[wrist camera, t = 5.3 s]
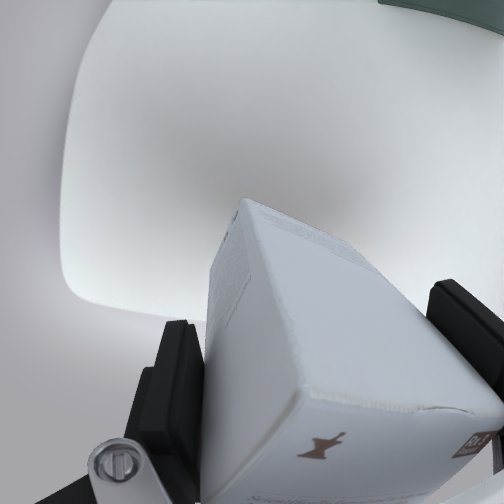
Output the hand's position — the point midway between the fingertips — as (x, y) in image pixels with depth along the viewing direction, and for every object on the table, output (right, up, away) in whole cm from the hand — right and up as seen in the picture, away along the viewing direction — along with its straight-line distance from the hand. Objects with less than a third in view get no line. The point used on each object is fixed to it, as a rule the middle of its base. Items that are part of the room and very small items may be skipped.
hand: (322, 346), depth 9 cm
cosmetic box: (0, +3, +7) cm, 7 cm away
